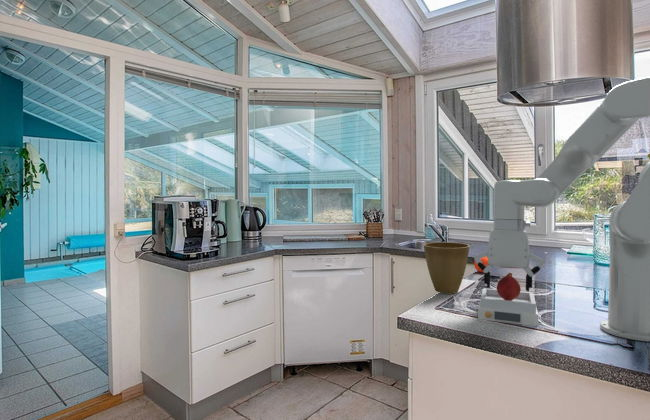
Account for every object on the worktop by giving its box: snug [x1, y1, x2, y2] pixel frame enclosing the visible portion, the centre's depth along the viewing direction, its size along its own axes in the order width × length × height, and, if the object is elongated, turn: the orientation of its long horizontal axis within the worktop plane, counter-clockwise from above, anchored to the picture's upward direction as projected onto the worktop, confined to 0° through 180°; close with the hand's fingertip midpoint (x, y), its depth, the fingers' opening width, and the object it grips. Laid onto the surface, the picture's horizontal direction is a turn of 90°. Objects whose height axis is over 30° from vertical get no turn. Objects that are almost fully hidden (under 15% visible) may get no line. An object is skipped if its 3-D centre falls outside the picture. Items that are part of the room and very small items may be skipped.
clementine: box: [473, 256, 488, 274], centre depth 168 cm, size 8×7×7 cm
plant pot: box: [423, 241, 470, 295], centre depth 134 cm, size 15×15×16 cm
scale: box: [477, 287, 539, 327], centre depth 107 cm, size 14×14×5 cm
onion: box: [496, 272, 522, 301], centre depth 107 cm, size 6×6×8 cm
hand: (507, 288), depth 107 cm, fingers open, 9 cm apart
